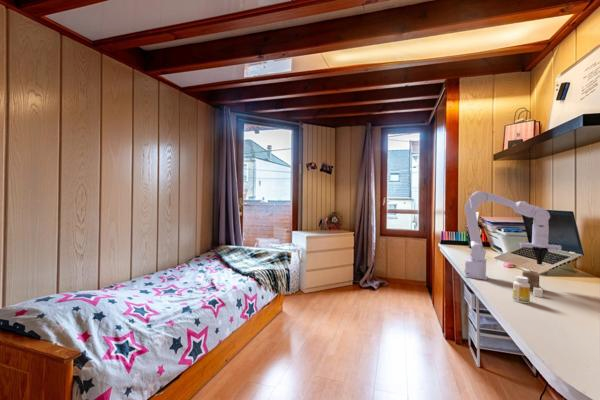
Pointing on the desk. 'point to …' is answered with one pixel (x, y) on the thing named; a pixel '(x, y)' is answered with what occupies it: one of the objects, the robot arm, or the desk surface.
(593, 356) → the desk surface
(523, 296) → the supplement bottle
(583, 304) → the desk surface
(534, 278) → the brown rectangular block
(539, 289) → the off-white cube
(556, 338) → the desk surface
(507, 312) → the desk surface
